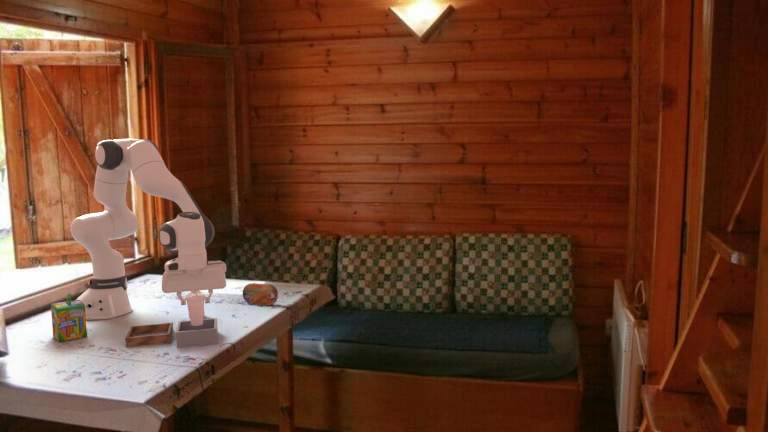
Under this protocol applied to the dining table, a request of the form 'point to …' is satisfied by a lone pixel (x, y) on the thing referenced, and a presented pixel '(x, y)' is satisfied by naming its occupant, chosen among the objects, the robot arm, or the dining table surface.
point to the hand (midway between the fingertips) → (195, 303)
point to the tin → (260, 294)
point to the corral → (149, 339)
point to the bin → (196, 333)
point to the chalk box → (68, 320)
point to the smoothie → (195, 307)
